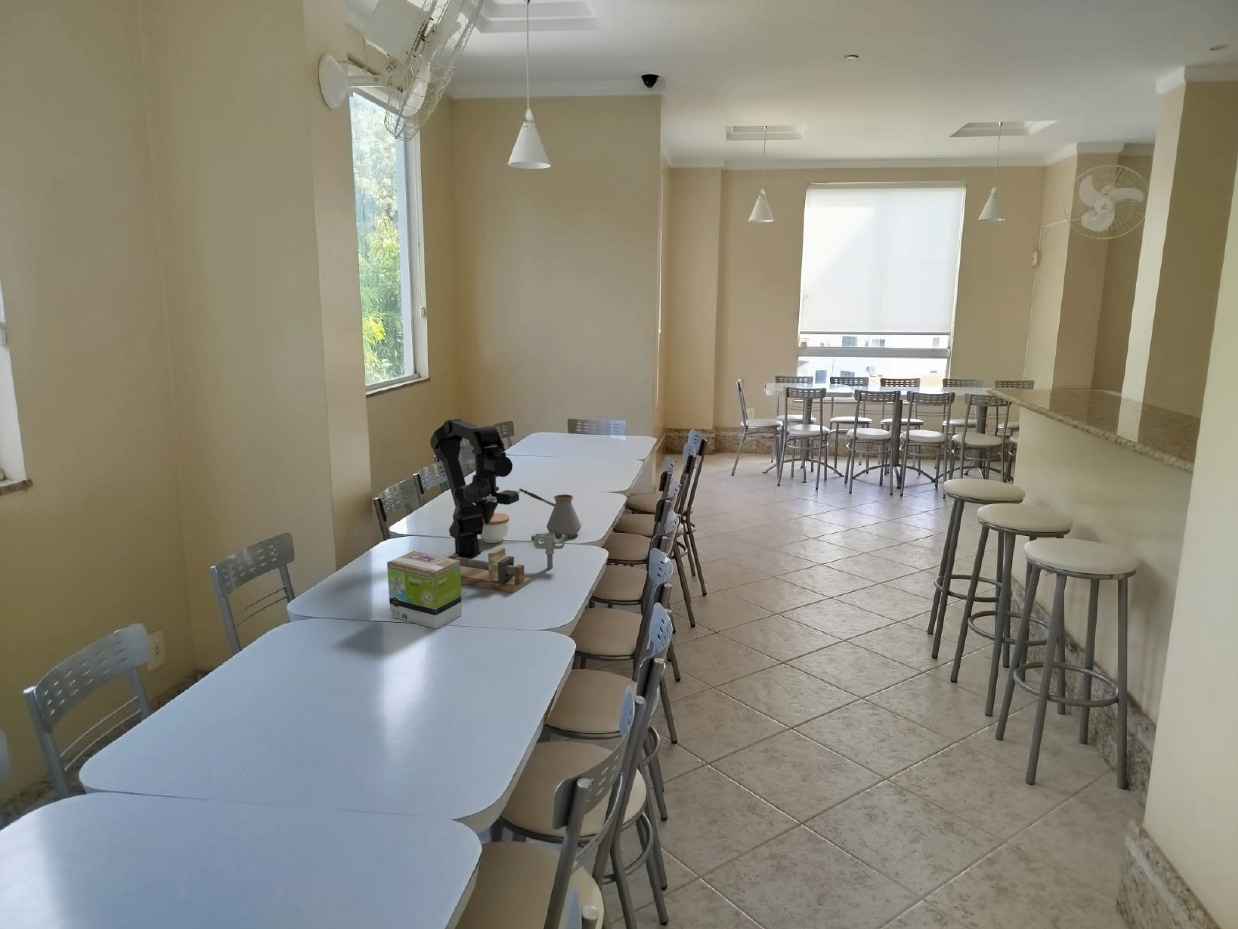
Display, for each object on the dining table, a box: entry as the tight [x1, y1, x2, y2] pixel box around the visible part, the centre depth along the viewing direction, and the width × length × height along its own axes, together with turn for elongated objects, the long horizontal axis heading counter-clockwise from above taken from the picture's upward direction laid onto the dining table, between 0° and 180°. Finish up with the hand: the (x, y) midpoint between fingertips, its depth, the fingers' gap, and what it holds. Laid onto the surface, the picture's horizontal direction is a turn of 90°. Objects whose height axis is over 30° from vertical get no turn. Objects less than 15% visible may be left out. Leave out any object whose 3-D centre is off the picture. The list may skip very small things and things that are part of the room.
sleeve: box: [487, 546, 509, 581], centre depth 216 cm, size 3×5×8 cm, turn 155°
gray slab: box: [498, 555, 515, 583], centre depth 216 cm, size 2×6×6 cm, turn 156°
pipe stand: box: [448, 553, 532, 594], centre depth 218 cm, size 23×9×6 cm, turn 66°
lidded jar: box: [478, 512, 510, 544], centre depth 255 cm, size 11×11×9 cm
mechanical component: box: [531, 533, 568, 570], centre depth 229 cm, size 3×10×10 cm, turn 89°
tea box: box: [386, 550, 463, 630], centre depth 193 cm, size 15×10×15 cm, turn 62°
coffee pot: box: [517, 488, 582, 539], centre depth 262 cm, size 21×12×15 cm, turn 80°
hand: (487, 523), depth 229 cm, fingers closed
